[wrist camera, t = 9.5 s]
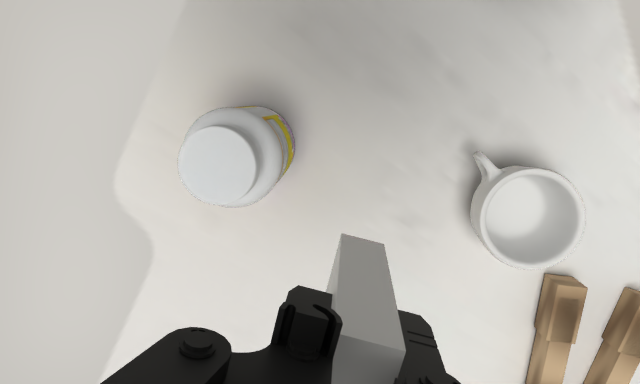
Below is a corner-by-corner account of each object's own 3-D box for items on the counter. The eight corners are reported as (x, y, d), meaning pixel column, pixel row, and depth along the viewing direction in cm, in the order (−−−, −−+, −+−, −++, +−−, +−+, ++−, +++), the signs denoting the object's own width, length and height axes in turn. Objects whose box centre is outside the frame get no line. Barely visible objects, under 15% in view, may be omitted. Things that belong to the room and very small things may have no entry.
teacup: (571, 213, 38) (608, 230, 33) (495, 265, 40) (518, 289, 34) (504, 119, 37) (530, 122, 32) (427, 176, 38) (441, 188, 33)
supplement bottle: (207, 162, 39) (141, 190, 27) (237, 92, 38) (184, 87, 25) (276, 196, 39) (244, 240, 27) (309, 128, 38) (291, 140, 25)
